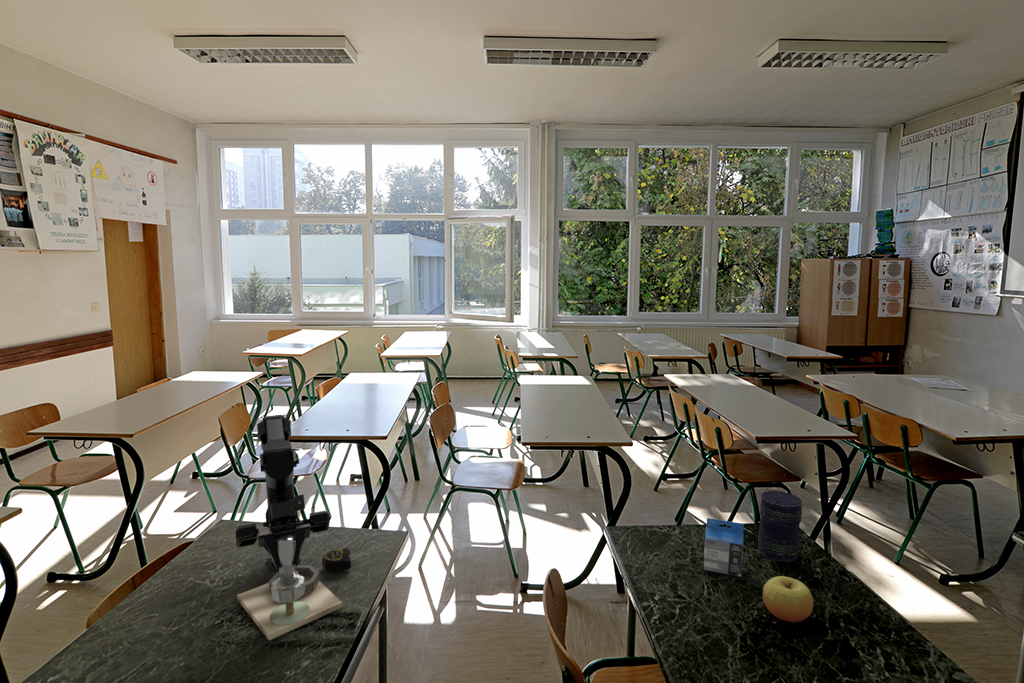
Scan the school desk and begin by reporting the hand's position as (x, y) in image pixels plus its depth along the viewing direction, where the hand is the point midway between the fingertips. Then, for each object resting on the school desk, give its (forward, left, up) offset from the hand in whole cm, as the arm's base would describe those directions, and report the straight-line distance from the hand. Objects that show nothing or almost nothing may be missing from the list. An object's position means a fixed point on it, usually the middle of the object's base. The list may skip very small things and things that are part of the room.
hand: (287, 568), depth 118 cm
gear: (-1, 0, -7) cm, 7 cm away
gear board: (-7, +2, -12) cm, 14 cm away
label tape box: (+54, +86, -13) cm, 103 cm away
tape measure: (-13, +18, -13) cm, 26 cm away
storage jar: (+60, +105, -13) cm, 122 cm away
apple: (+72, +79, -13) cm, 108 cm away
